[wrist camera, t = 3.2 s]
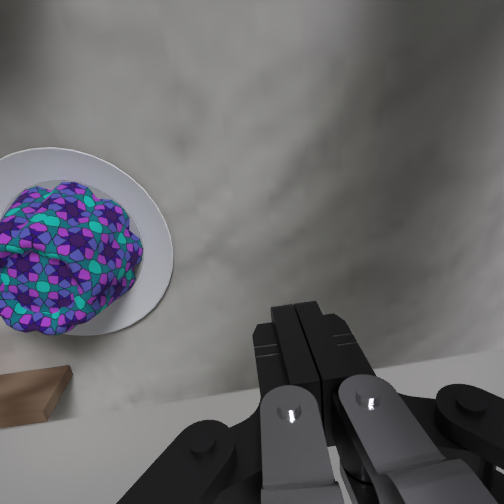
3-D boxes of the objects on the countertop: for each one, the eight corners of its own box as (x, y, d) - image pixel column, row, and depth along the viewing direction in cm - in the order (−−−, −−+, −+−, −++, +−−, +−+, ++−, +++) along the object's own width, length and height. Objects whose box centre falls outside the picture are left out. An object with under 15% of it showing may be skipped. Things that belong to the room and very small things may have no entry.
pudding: (187, 169, 20) (176, 192, 16) (163, 339, 25) (148, 397, 20) (-43, 123, 19) (-135, 133, 14) (-25, 315, 23) (-89, 372, 18)
